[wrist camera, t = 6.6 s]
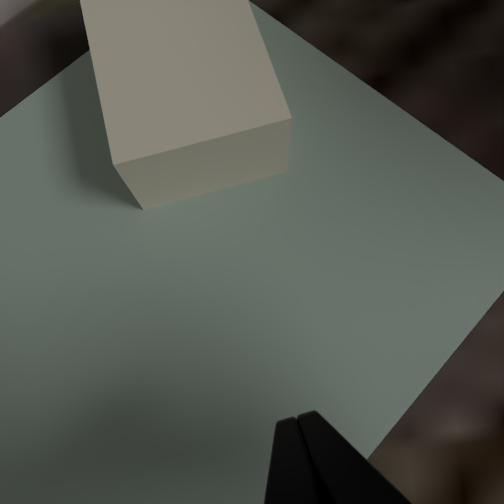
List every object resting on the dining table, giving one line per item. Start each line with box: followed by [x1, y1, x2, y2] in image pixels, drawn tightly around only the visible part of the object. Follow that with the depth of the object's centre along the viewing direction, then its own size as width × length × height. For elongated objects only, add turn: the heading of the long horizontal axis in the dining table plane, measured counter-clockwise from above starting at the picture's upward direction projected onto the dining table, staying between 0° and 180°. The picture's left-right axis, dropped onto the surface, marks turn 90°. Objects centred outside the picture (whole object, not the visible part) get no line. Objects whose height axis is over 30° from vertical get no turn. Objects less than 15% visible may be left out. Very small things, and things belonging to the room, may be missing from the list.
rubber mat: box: [0, 0, 504, 504], centre depth 16 cm, size 20×22×1 cm
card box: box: [80, 0, 292, 210], centre depth 17 cm, size 4×6×9 cm
